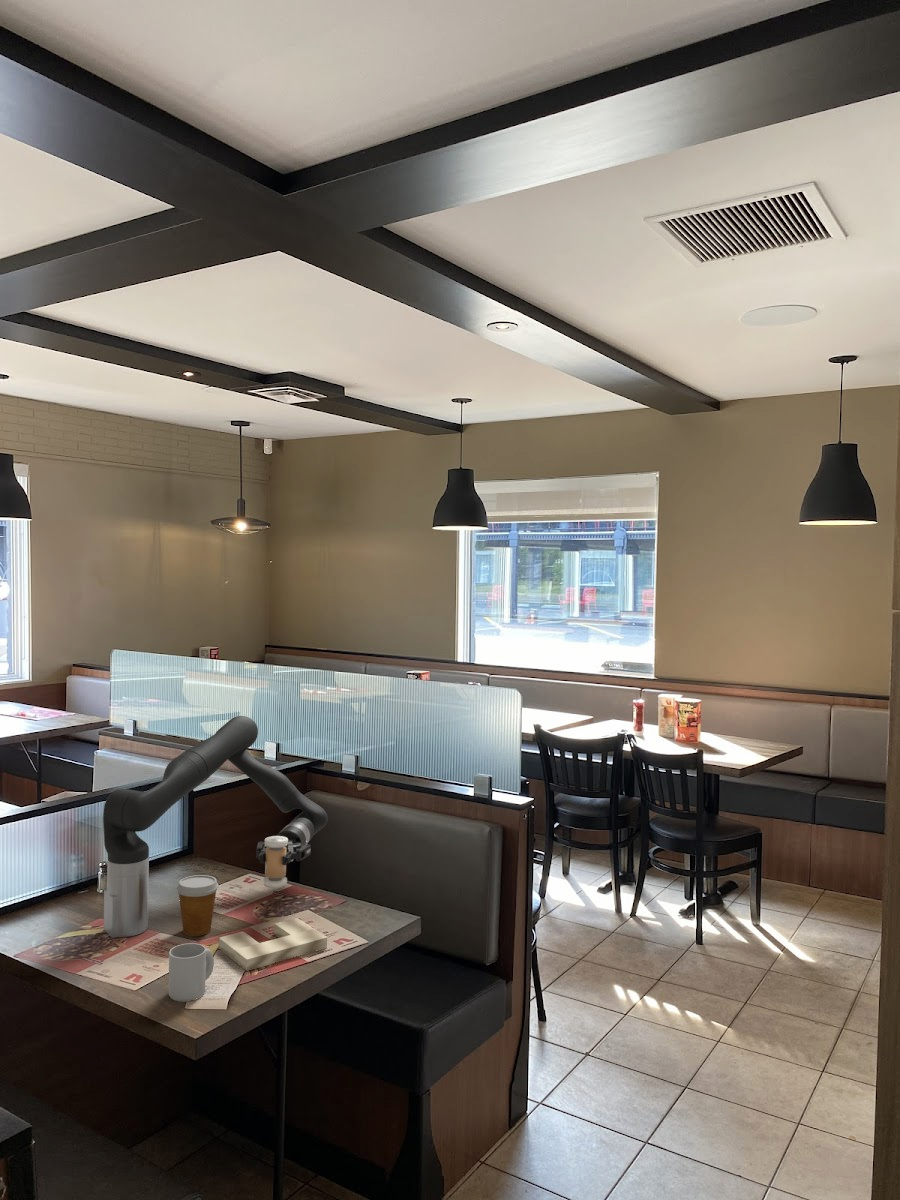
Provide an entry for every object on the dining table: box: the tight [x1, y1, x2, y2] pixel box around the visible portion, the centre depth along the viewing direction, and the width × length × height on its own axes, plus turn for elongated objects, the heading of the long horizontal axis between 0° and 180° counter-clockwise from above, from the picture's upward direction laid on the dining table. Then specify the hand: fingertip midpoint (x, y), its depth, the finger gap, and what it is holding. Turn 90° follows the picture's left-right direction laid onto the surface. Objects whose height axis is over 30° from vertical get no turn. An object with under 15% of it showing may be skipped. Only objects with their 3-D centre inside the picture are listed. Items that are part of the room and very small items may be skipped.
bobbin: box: [263, 835, 288, 889], centre depth 221 cm, size 6×6×11 cm
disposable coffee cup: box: [176, 874, 219, 937], centre depth 215 cm, size 10×10×12 cm
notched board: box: [218, 917, 328, 972], centre depth 206 cm, size 20×14×2 cm
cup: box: [168, 942, 215, 1003], centre depth 185 cm, size 7×10×9 cm
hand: (272, 860), depth 219 cm, fingers closed on bobbin, 5 cm apart
